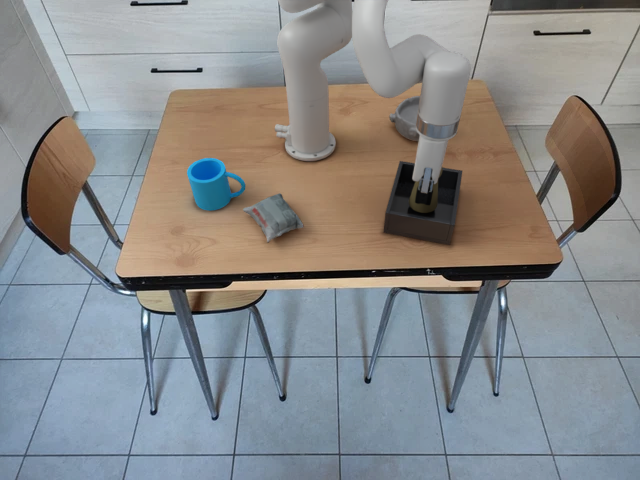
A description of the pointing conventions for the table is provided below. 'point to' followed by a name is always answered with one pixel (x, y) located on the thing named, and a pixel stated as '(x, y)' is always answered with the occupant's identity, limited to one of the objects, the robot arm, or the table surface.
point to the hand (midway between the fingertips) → (424, 194)
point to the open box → (419, 224)
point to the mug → (212, 184)
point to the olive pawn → (423, 207)
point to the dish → (407, 118)
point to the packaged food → (274, 216)
